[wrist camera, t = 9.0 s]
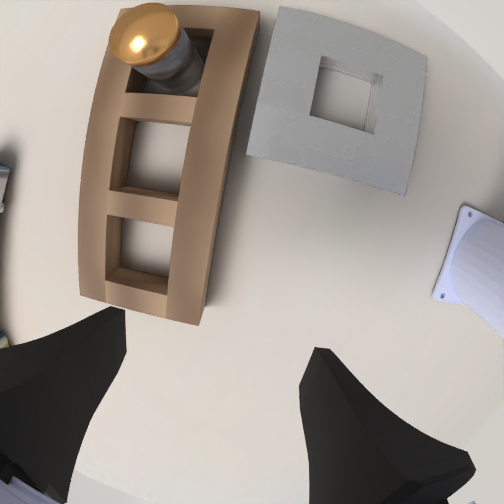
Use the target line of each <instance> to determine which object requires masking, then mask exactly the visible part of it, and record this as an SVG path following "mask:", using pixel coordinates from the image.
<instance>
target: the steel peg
mask: <svg viewBox="0 0 504 504" xmlns="http://www.w3.org/2000/svg"><path fill="white" fill-rule="evenodd" d="M109 47H110V50H111V52H112V54H113V55H114V56H115V57H117V58H118V59H120V60H121V61H123V62H125V63H126V64H128V65H129V66H131V67H132V68H134V69H135V70H137V71H139V72H140V73H142V74H143V75H145V76H146V77H148V78H149V79H151V80H152V81H153V82H155V83H156V84H158V85H159V86H161V87H162V88H164V89H165V90H167V91H170V92H182V91H185V90H188V89H190V88H191V87H193V86H194V85H195V84H196V83H197V82H198V81H199V80H200V78H201V76H202V74H203V69H204V66H203V61H202V59H201V57H200V56H199V54H198V52H197V50H196V49H195V47H194V45H193V44H192V42H191V40H190V39H189V37H188V36H187V34H186V32H185V31H184V29H183V27H182V26H181V24H180V23H179V21H178V19H177V18H176V16H175V15H174V13H173V12H172V10H171V9H170V8H169V7H167V6H166V5H163V4H160V3H146V4H141V5H138V6H136V7H134V8H132V9H130V10H129V11H127V12H126V13H125V14H123V15H122V16H121V17H120V18H119V19H118V20H117V22H116V23H115V24H114V26H113V28H112V30H111V32H110V36H109Z"/></svg>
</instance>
